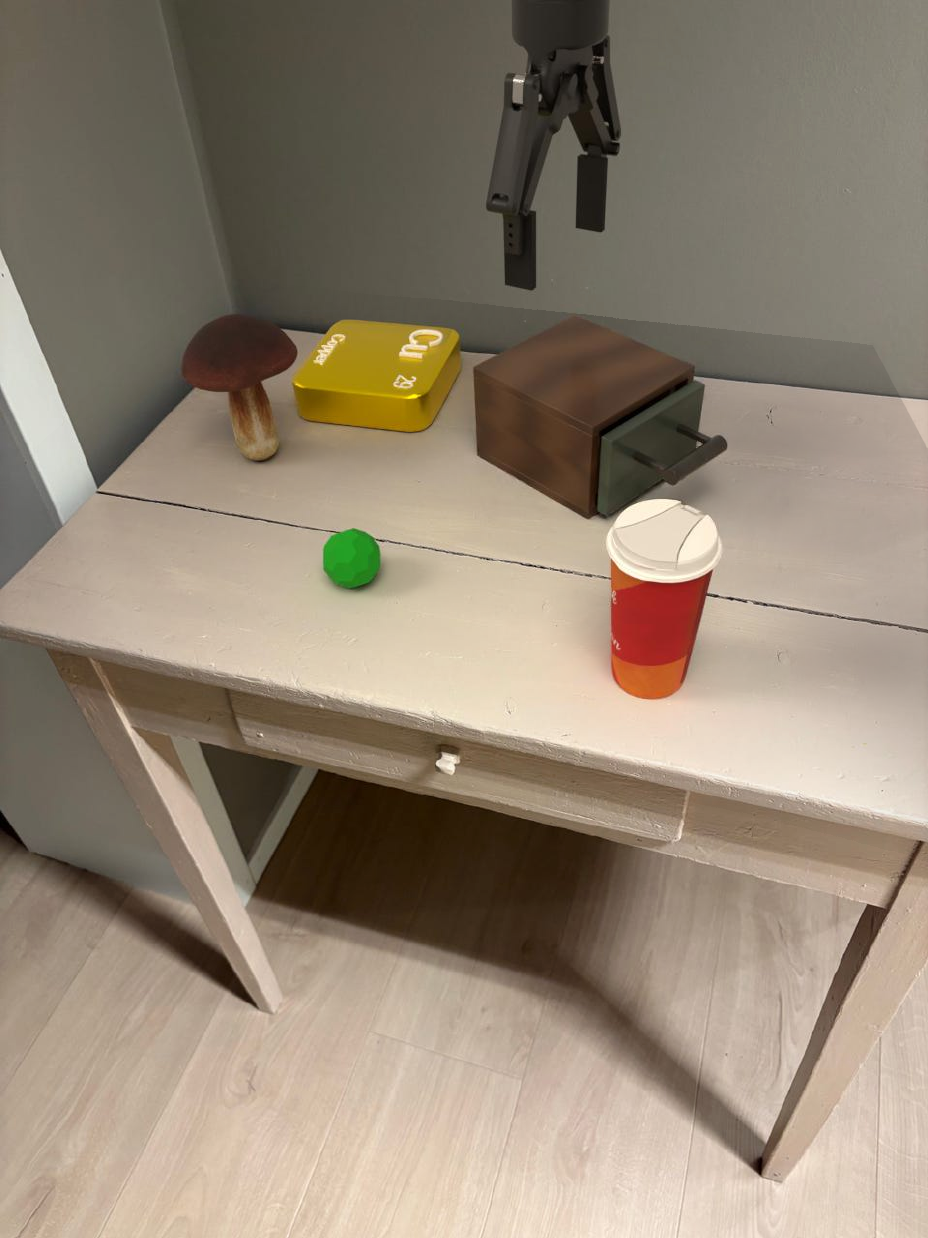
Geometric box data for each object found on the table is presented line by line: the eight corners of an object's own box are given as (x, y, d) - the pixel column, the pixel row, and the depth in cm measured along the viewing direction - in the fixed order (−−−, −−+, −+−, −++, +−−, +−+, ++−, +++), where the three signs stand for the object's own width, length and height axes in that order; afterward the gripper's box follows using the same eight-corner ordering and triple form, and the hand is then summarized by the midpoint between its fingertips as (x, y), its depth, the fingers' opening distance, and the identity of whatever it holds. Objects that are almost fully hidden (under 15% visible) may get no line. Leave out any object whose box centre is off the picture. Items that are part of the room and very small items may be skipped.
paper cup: (639, 622, 77) (654, 480, 67) (719, 670, 73) (748, 526, 63) (575, 675, 73) (582, 532, 64) (656, 728, 69) (676, 585, 60)
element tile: (342, 351, 112) (336, 312, 109) (465, 363, 108) (463, 323, 105) (292, 420, 102) (283, 379, 98) (426, 435, 98) (423, 394, 95)
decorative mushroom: (222, 499, 92) (182, 358, 82) (196, 443, 99) (156, 306, 89) (330, 468, 95) (304, 327, 85) (297, 415, 102) (270, 279, 92)
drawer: (738, 478, 89) (752, 404, 83) (650, 541, 83) (658, 465, 77) (589, 405, 99) (592, 334, 94) (501, 456, 93) (499, 384, 88)
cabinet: (683, 456, 93) (695, 365, 87) (587, 519, 87) (592, 427, 80) (572, 401, 102) (574, 314, 95) (476, 455, 95) (472, 366, 88)
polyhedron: (386, 594, 81) (379, 551, 78) (328, 602, 81) (319, 559, 77) (380, 556, 85) (374, 514, 81) (325, 564, 84) (316, 521, 81)
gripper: (589, -53, 82) (581, 201, 96) (430, 16, 67) (449, 304, 82) (671, -49, 79) (650, 213, 93) (524, 24, 64) (526, 322, 79)
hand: (556, 256), depth 88 cm, fingers open, 13 cm apart
